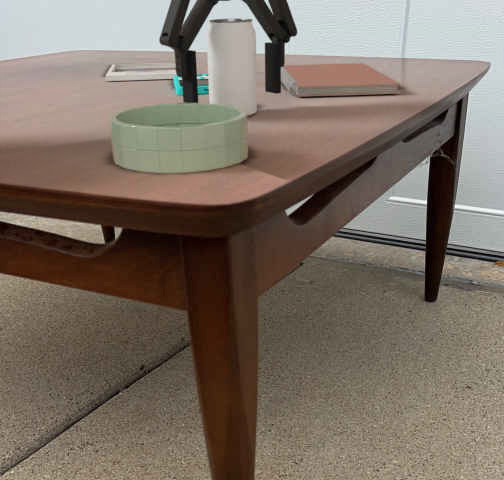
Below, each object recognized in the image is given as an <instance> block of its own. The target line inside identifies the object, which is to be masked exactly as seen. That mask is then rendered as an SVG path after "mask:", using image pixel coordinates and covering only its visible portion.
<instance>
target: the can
mask: <svg viewBox="0 0 504 480" xmlns="http://www.w3.org/2000/svg"><path fill="white" fill-rule="evenodd" d="M208 21H209V25H208V29H207V31H206V58H207V74H208V81H209V94H208V99H209V101H208V103H214V104H215V103H216V104H225V105H231V106H235V107H239V108H242V109H244V110H245V111H247V118H248V117H252V116H255V114H256V113H257V111H258V78H257V75H258V74H257V71H258V69H257V35H256V30H255V27H254V25H253V19H251V18H216V19H209V20H208Z"/></svg>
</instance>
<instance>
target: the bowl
mask: <svg viewBox="0 0 504 480" xmlns="http://www.w3.org/2000/svg"><path fill="white" fill-rule="evenodd" d="M108 123H109V131H110V133H109V134H110V142H111V153H112V160H113V162H114V164H115V165H116V166H119V167H121V168H123V169H126V170H127V169H128V170H132V171H137V172H143V173H144V172H145V173H157V174H183V173H184V174H185V173H195V172H206V171H212V170H218V169H222V168H226V167H230V166H233V165H236V164H241V163H242V162H243V161H245V160H247V159H248V157H249V130H248V117H247V111H245V110H244V109H242V108H239V107H235V106H231V105H225V104H216V103H215V104H214V103H210V102H198V103H185V102H168V103H158V104H157V103H156V104H155V103H154V104H147V105H140V106H135V107H129V108H125V109H121V110H119V111H116V112H113V113H112V114H111V115H110V116H109V117H108Z"/></svg>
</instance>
